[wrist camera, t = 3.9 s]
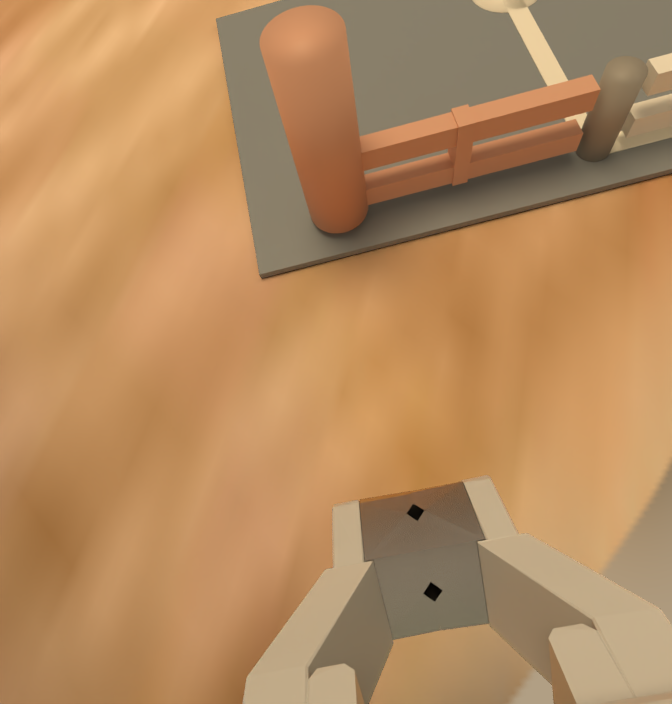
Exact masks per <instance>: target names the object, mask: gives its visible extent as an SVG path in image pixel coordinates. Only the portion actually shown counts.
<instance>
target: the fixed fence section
mask: <svg viewBox="0 0 672 704" xmlns="http://www.w3.org/2000/svg"><path fill="white" fill-rule="evenodd" d="M599 87H600V89H601V90H600V93H599V95H598V98H597V100H596V103H595V105H594V108H593V110H592V111H589V112H588V113H587V116H586V118H585V121H584V124H583V126H582V129H581V130H582V132H583V135H582V138H581V140H580V143H579V146H578V148H577V151H575V152H576V154H577V155H578V156H579V157H580V158H581V159H583V160H585V161H589V162H597V161H601V160H603V159H605V158H606V157H607V156H608V155H609V153H610V151H611V149H612V147H613V145H614V143H615V141H616V139H617V137H618V135H619V133H620V131H621V130H622V132H623V133H624V135H625V137H626V138H628V137H631V136H635V135H639V134H643V133H647V132H651V131H654V130H658V129H662V128H666V127H670V126H672V94H668V95H664V96H661V97H657V98H653V99H649V100H645V101H642V102H638V103H634V102H635V100H636V98H637V95H638V93H639V91H640V89H641V87H642V89H643V90H644V92H645V94H646V95H647V96H650V95H654V94H657V93H661V92H665V91H669V90H672V53H670V54H666V55H662V56H659V57H655V58H651V59H648V61H647V63H646V64H645V63H644V62H643V61H642V60H640V59H638V58H636V57H632V56H621V57H617V58H614V59H612V60H611V61H609V62H608V64H607V65H606V67H605V70H604V72H603V75H602V77H601V80H600V83H599Z"/></svg>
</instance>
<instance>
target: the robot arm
mask: <svg viewBox="0 0 672 704" xmlns="http://www.w3.org/2000/svg"><path fill="white" fill-rule="evenodd" d="M332 536H333V568H330V569H325V570H324V572H323V573H322V574H321V576H320V577H319V579H318V580H317V581H316V583H315V584H314V585H313V587H312V588H311V590H310V591H309V592H308V594H307V595H306V596H305V598H304V599H303V601H302V602H301V603H300V605H299V606H298V607H297V609H296V610H295V612H294V613H293V614H292V616H291V617H290V618H289V620H288V621H287V623H286V624H285V625H284V627H283V628H282V629H281V631H280V632H279V634H278V635H277V636H276V638H275V639H274V640H273V642H272V643H271V645H270V646H269V647H268V649H267V650H266V651H265V653H264V654H263V656H262V657H261V658H260V660H259V661H258V662H257V664H256V665H255V667H254V668H253V669H252V671H251V672H250V673H249V675H248V676H247V679H246V685H245V692H244V698H243V704H369V702H370V699H371V697H372V694H373V692H374V689H375V687H376V685H377V682H378V680H379V677H380V675H381V672H382V670H383V668H384V665H385V663H386V660H387V658H388V655H389V653H390V650H391V648H392V646H393V640H395V639H400V638H405V637H410V636H415V635H420V634H425V633H430V632H434V631H439V630H446V629H454V628H461V627H468V626H475V625H482V624H489V625H490V627H491V628H492V629H493V630H494V631H496V632H497V633H498V634H499V635H500V636H501V637H502V638H503V639H504V640H505V641H506V642H507V643H508V644H509V645H510V646H511V647H512V648H513V649H514V650H515V651H517V652H518V653H519V654H520V655H521V656H522V657H523V658H524V659H525V660H526V661H527V662H528V663H529V664H530V665H531V666H532V667H533V668H534V669H535V670H536V671H538V672H539V673H540V674H541V675H542V676H543V677H544V678H545V679H546V680H547V681H548V682H549V683H550V684H551V685H552V687H553V700H554V704H672V624H671V623H670V622H669V620H668V619H667V617H666V616H665V615H664V613H663V612H662V611H661V609H660V608H658V607H656V606H655V605H653V604H651V603H649V602H648V601H646V600H644V599H642V598H641V597H639V596H637V595H635V594H633V593H632V592H630V591H628V590H627V589H625V588H623V587H621V586H620V585H618V584H616V583H614V582H613V581H611V580H609V579H607V578H606V577H604V576H602V575H600V574H599V573H597V572H595V571H593V570H592V569H590V568H588V567H586V566H585V565H583V564H581V563H579V562H578V561H576V560H574V559H572V558H571V557H569V556H567V555H565V554H564V553H562V552H560V551H558V550H557V549H555V548H553V547H551V546H549V545H548V544H546V543H544V542H542V541H541V540H539V539H537V538H535V537H534V536H532V535H530V534H528V533H523V534H519V533H518V531H517V529H516V527H515V525H514V523H513V521H512V519H511V517H510V515H509V513H508V511H507V509H506V507H505V505H504V503H503V501H502V499H501V497H500V495H499V493H498V491H497V489H496V487H495V485H494V483H493V481H492V479H491V477H489V476H488V475H485V476H480V477H475V478H471V479H466V480H462V481H461V482H456V483H451V484H445V485H440V486H435V487H430V488H425V489H420V490H415V491H407V492H401V493H395V494H389V495H383V496H377V497H371V498H365V499H360V501H359V500H355V501H349V502H344V503H338V504H334V506H333V509H332Z"/></svg>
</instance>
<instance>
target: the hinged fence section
mask: <svg viewBox="0 0 672 704" xmlns="http://www.w3.org/2000/svg"><path fill="white" fill-rule="evenodd" d="M259 44H260V49H261V53H262V56H263V59H264V63H265V66H266V69H267V73H268V76H269V79H270V83H271V86H272V89H273V93H274V96H275V99H276V103H277V106H278V110H279V113H280V116H281V120H282V123H283V126H284V130H285V133H286V136H287V140H288V143H289V146H290V150H291V153H292V156H293V160H294V163H295V166H296V170H297V173H298V176H299V180H300V183H301V186H302V190H303V193H304V196H305V200H306V203H307V206H308V210H309V213H310V216H311V219H312V221H313V223H314V224H315V225H316V226H317V227H318V228H319V229H321V230H323V231H325V232H328V233H344V232H348V231H350V230H353V229H354V228H356V227H357V226H359V225H360V224H361V223H362V222H363V220H364V219H365V217H366V215H367V212H368V205H371V204H374V203H378V202H382V201H386V200H390V199H394V198H397V197H401V196H405V195H409V194H413V193H417V192H420V191H424V190H428V189H432V188H436V187H440V186H443V185H447V184H451V183H452V186H454V185H458V184H462V183H466V182H468V179H470V178H474V177H478V176H482V175H486V174H489V173H493V172H497V171H501V170H505V169H509V168H513V167H516V166H520V165H524V164H528V163H532V162H536V161H539V160H543V159H547V158H551V157H555V156H559V155H562V154H566V153H570V152H574V151H577V148H578V146H579V143H580V140H581V138H582V135H583V132H582V130H581V128H580V126H579V124H578V122H577V120H576V119H573V120H570V121H566V122H562V123H558V124H554V125H551V126H547V127H543V128H539V129H535V130H532V131H528V132H524V133H520V134H517V135H513V136H509V137H505V138H501V139H498V140H494V141H490V142H486V143H482V144H479V145H475V146H473V142H476V141H480V140H483V139H487V138H491V137H495V136H498V135H502V134H506V133H510V132H514V131H517V130H521V129H525V128H529V127H533V126H536V125H540V124H544V123H548V122H551V121H555V120H559V119H563V118H567V117H570V116H574V115H578V114H582V113H585V112H589V111H592V110H593V108H594V105H595V103H596V100H597V98H598V95H599V93H600V90H601V89H600V87H599V85H598V84H597V82H596V80H595V78H594V77H593V75H592V74H591V75H588V76H584V77H580V78H576V79H573V80H569V81H565V82H561V83H558V84H554V85H550V86H547V87H543V88H539V89H535V90H532V91H528V92H524V93H520V94H517V95H513V96H509V97H505V98H502V99H498V100H494V101H490V102H487V103H483V104H479V105H476V106H472V107H469V105H468V104H467V105H463V106H459V107H455V108H452V109H451V112H449V113H446V114H442V115H438V116H434V117H431V118H427V119H423V120H420V121H416V122H412V123H408V124H405V125H401V126H397V127H393V128H390V129H386V130H382V131H378V132H375V133H371V134H367V135H364V136H359V128H358V120H357V112H356V104H355V96H354V88H353V80H352V73H351V65H350V57H349V49H348V41H347V33H346V26H345V22H344V20H343V19H342V17H341V16H340V15H339V14H338V13H337V12H335V11H334V10H332V9H330V8H327V7H323V6H317V5H306V6H299V7H295V8H292V9H289V10H287V11H284V12H282V13H281V14H279V15H277V16H276V17H274V18H273V19H272V20H271V21H270V22H269V23H268V24H267V25H266V26H265V28H264V29H263V31H262V33H261V36H260V42H259ZM445 149H448V152H447V153H445V154H441V155H437V156H433V157H429V158H426V159H422V160H418V161H414V162H410V163H407V164H403V165H399V166H395V167H391V168H388V169H384V170H380V171H376V172H373V173H369V174H365V175H364V171H366V170H370V169H374V168H377V167H381V166H385V165H389V164H392V163H396V162H400V161H404V160H408V159H411V158H415V157H419V156H423V155H427V154H430V153H434V152H438V151H442V150H445Z"/></svg>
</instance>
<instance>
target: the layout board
mask: <svg viewBox="0 0 672 704" xmlns="http://www.w3.org/2000/svg"><path fill="white" fill-rule="evenodd" d="M306 5H317V6H323V7H327V8H330V9H332V10H334V11H335V12H337V13H338V14H339V15H340V16H341V17H342V19H343V20H344V22H345V26H346V33H347V41H348V49H349V57H350V65H351V73H352V80H353V88H354V96H355V104H356V112H357V120H358V128H359V136H364V135H367V134H371V133H375V132H378V131H382V130H386V129H390V128H393V127H397V126H401V125H405V124H408V123H412V122H416V121H420V120H423V119H427V118H431V117H434V116H438V115H442V114H446V113H449V112H451V109H452V108H455V107H459V106H463V105H467V104H468V105H469V107H472V106H476V105H479V104H483V103H487V102H490V101H494V100H498V99H502V98H505V97H509V96H513V95H517V94H520V93H524V92H528V91H532V90H535V89H539V88H543V87H547V86H550V85H554V84H558V83H561V82H565V81H569V80H573V79H576V78H580V77H584V76H588V75H591V74H592V75H593V77H594V78H595V80H596V82H597V84H598V85H599V83H600V80H601V77H602V75H603V72H604V70H605V67H606V65H607V64H608V62H609V61H611V60H612V59H614V58H617V57H621V56H632V57H636V58H638V59H640V60H642V61H643V62H644V63H645V64H646V63H647V61H648V59H651V58H655V57H659V56H662V55H666V54H670V53H672V0H280V1H277V2H273V3H270V4H266V5H263V6H259V7H256V8H252V9H249V10H245V11H242V12H238V13H235V14H231V15H228V16H224V17H220V18H217V19H216V22H217V28H218V34H219V40H220V45H221V51H222V57H223V63H224V69H225V75H226V81H227V87H228V93H229V98H230V104H231V110H232V116H233V122H234V128H235V134H236V140H237V146H238V151H239V157H240V163H241V169H242V175H243V181H244V187H245V193H246V199H247V204H248V210H249V216H250V222H251V228H252V234H253V240H254V246H255V252H256V257H257V263H258V269H259V275H260V277H261V278H265V277H269V276H273V275H277V274H280V273H284V272H288V271H292V270H296V269H300V268H304V267H308V266H312V265H316V264H319V263H323V262H327V261H331V260H335V259H339V258H343V257H347V256H351V255H355V254H359V253H362V252H366V251H370V250H374V249H378V248H382V247H386V246H390V245H394V244H398V243H401V242H405V241H409V240H413V239H417V238H421V237H425V236H429V235H433V234H437V233H440V232H444V231H448V230H452V229H456V228H460V227H464V226H468V225H472V224H476V223H480V222H483V221H487V220H491V219H495V218H499V217H503V216H507V215H511V214H515V213H519V212H522V211H526V210H530V209H534V208H538V207H542V206H546V205H550V204H554V203H558V202H562V201H565V200H569V199H573V198H577V197H581V196H585V195H589V194H593V193H597V192H601V191H604V190H608V189H612V188H616V187H620V186H624V185H628V184H632V183H636V182H640V181H644V180H647V179H651V178H655V177H659V176H663V175H667V174H671V173H672V126H670V127H666V128H662V129H658V130H654V131H651V132H647V133H643V134H639V135H635V136H631V137H628V138H626V137H625V135H624V133H623V132H622V130H621V131H620V133H619V135H618V137H617V139H616V141H615V143H614V145H613V147H612V149H611V151H610V153H609V155H608V156H607V157H606V158H605V159H603V160H601V161H597V162H589V161H585V160H583V159H581V158H580V157H579V156H578V155H577V154H576V152H575V151H574V152H570V153H566V154H562V155H559V156H555V157H551V158H547V159H543V160H539V161H536V162H532V163H528V164H524V165H520V166H516V167H513V168H509V169H505V170H501V171H497V172H493V173H489V174H486V175H482V176H478V177H474V178H470V179H468V182H466V183H462V184H458V185H454V186H452V183H451V184H447V185H443V186H440V187H436V188H432V189H428V190H424V191H420V192H417V193H413V194H409V195H405V196H401V197H397V198H394V199H390V200H386V201H382V202H378V203H374V204H371V205H368V212H367V215H366V217H365V219H364V220H363V222H362V223H361V224H360V225H359V226H357V227H356V228H354V229H353V230H350V231H348V232H344V233H328V232H325V231H323V230H321V229H319V228H318V227H317V226H316V225H315V224H314V223H313V221H312V219H311V216H310V213H309V210H308V206H307V203H306V200H305V196H304V193H303V190H302V186H301V183H300V180H299V176H298V173H297V170H296V166H295V163H294V160H293V156H292V153H291V150H290V146H289V143H288V140H287V136H286V133H285V130H284V126H283V123H282V120H281V116H280V113H279V110H278V106H277V103H276V99H275V96H274V93H273V89H272V86H271V83H270V79H269V76H268V73H267V69H266V66H265V63H264V59H263V56H262V53H261V49H260V44H259V42H260V36H261V33H262V31H263V29H264V28H265V26H266V25H267V24H268V23H269V22H270V21H271V20H272V19H273V18H274V17H276V16H277V15H279V14H281V13H282V12H284V11H287V10H289V9H292V8H295V7H299V6H306ZM668 94H672V90H669V91H665V92H661V93H657V94H654V95H650V96H647V95H646V94H645V92H644V90H643V89H642V87H641V89H640V91H639V93H638V95H637V98H636V100H635V102H634V103H638V102H642V101H645V100H649V99H653V98H657V97H661V96H664V95H668ZM587 113H588V112H585V113H582V114H578V115H574V116H570V117H567V118H563V119H559V120H555V121H551V122H548V123H544V124H540V125H536V126H533V127H529V128H525V129H521V130H517V131H514V132H510V133H506V134H502V135H498V136H495V137H491V138H487V139H483V140H480V141H476V142H473V146H475V145H479V144H482V143H486V142H490V141H494V140H498V139H501V138H505V137H509V136H513V135H517V134H520V133H524V132H528V131H532V130H535V129H539V128H543V127H547V126H551V125H554V124H558V123H562V122H566V121H570V120H573V119H576V120H577V122H578V124H579V126H580V128H581V129H582V126H583V124H584V121H585V118H586V116H587ZM447 152H448V149H445V150H442V151H438V152H434V153H430V154H427V155H423V156H419V157H415V158H411V159H408V160H404V161H400V162H396V163H392V164H389V165H385V166H381V167H377V168H374V169H370V170H366V171H364V175H365V174H369V173H373V172H376V171H380V170H384V169H388V168H391V167H395V166H399V165H403V164H407V163H410V162H414V161H418V160H422V159H426V158H429V157H433V156H437V155H441V154H445V153H447Z"/></svg>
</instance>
